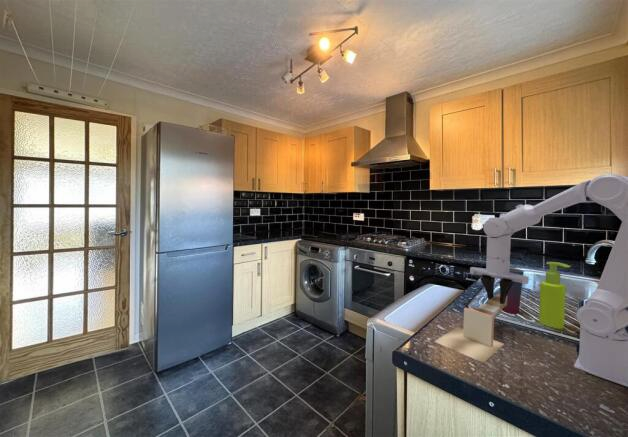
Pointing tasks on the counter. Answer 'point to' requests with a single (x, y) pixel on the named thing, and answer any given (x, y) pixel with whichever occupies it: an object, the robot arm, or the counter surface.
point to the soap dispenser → (552, 298)
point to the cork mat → (468, 345)
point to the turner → (492, 306)
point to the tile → (478, 326)
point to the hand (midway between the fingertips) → (496, 301)
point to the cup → (514, 294)
